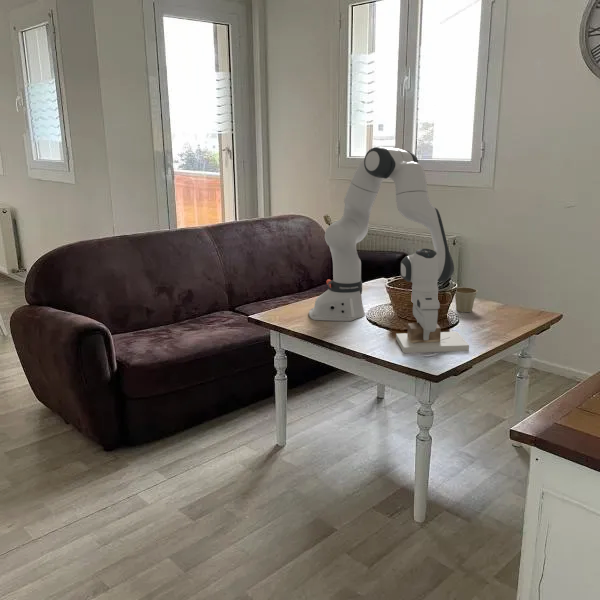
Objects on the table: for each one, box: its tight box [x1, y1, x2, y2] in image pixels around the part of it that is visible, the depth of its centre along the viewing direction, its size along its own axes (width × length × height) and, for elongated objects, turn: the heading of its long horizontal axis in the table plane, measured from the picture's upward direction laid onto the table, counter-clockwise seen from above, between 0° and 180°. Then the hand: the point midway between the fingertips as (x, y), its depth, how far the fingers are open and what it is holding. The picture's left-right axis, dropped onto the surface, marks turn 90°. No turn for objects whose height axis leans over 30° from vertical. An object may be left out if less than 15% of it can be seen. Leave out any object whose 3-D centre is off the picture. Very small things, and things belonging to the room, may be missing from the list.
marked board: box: [395, 331, 470, 354], centre depth 212 cm, size 22×14×2 cm, turn 92°
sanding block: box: [407, 322, 442, 343], centre depth 211 cm, size 10×6×5 cm, turn 92°
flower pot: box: [454, 286, 479, 313], centre depth 248 cm, size 9×9×9 cm
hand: (423, 335), depth 211 cm, fingers closed on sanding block, 6 cm apart
